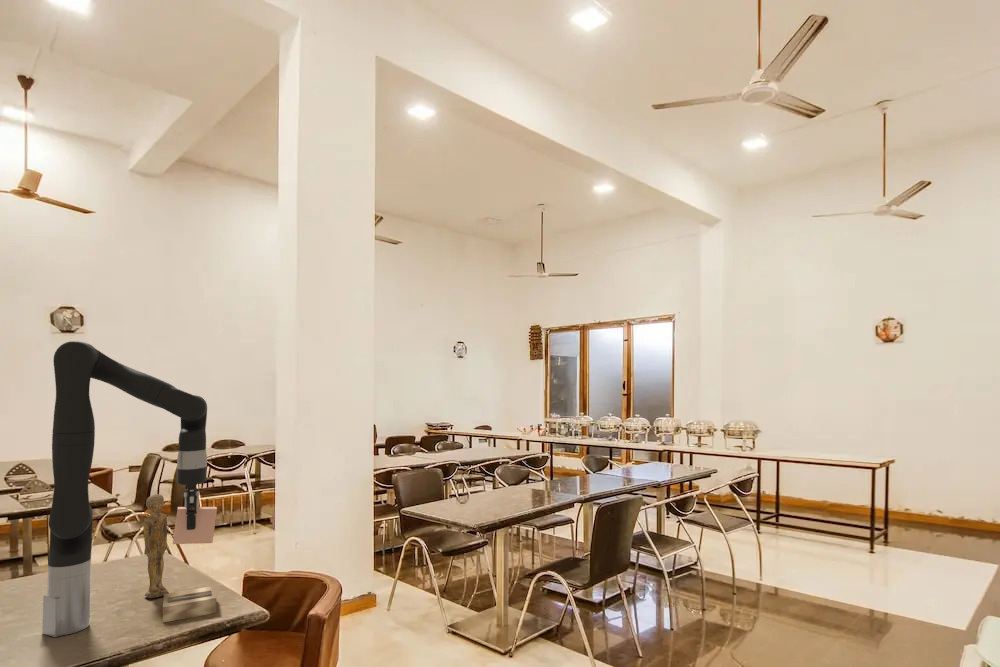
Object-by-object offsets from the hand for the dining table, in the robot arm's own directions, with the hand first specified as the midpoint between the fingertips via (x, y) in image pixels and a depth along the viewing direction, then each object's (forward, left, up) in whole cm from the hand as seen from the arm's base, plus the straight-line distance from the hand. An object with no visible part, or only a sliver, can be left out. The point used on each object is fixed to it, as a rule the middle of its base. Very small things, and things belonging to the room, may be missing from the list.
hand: (191, 527), depth 171 cm
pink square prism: (0, 0, -4) cm, 4 cm away
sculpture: (+3, +20, -23) cm, 31 cm away
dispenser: (0, 0, -23) cm, 23 cm away
